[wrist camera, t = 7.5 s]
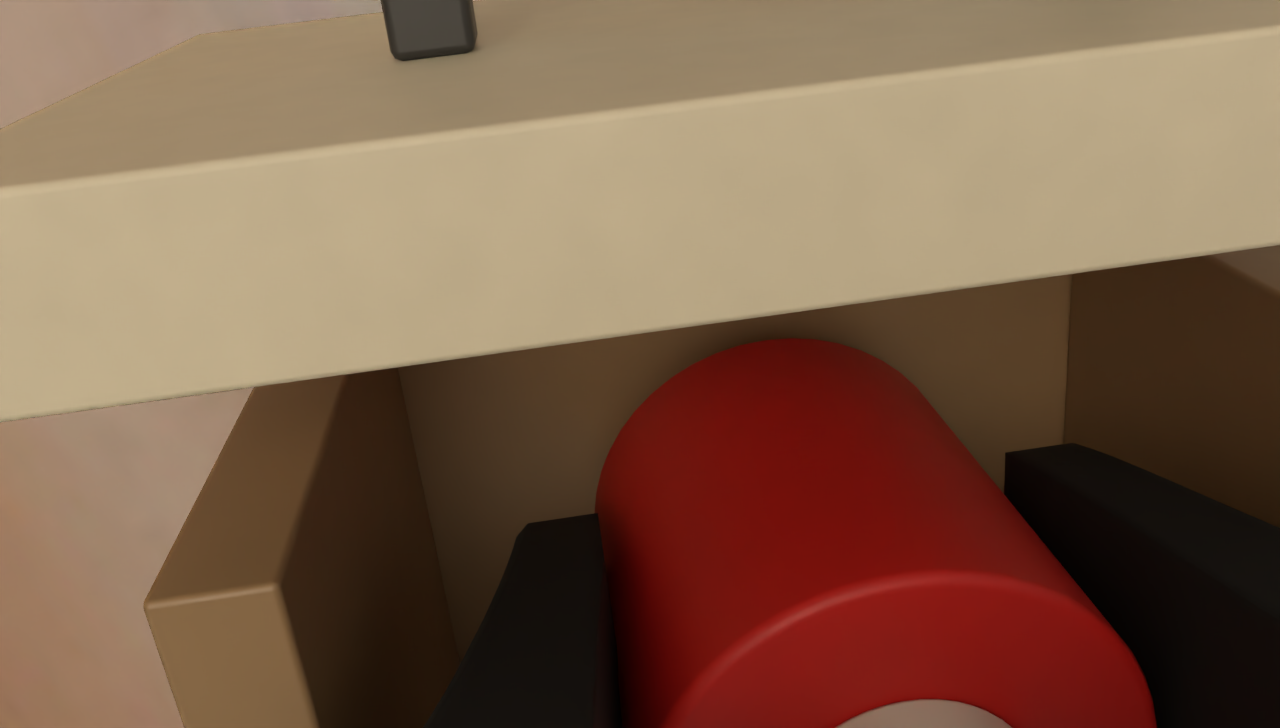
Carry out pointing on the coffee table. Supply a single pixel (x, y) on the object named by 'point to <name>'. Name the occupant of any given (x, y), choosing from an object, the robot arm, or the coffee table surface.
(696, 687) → the red cylinder
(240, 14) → the coffee table surface
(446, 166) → the drawer
